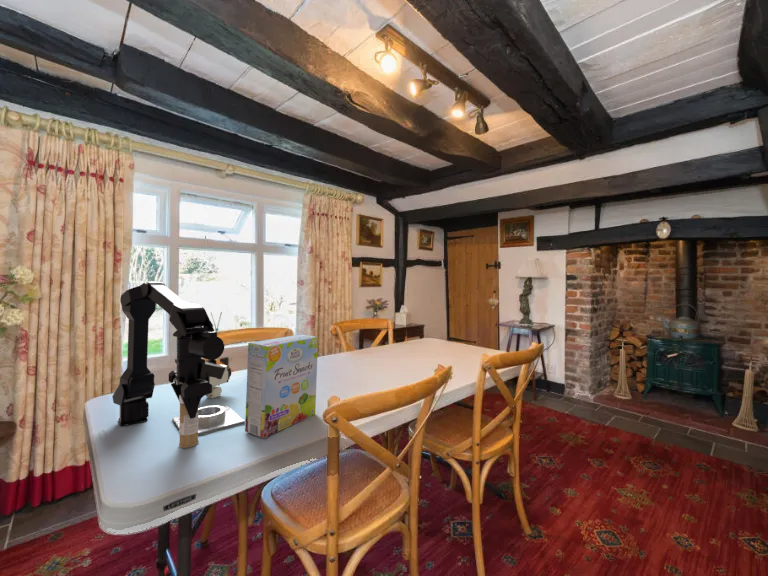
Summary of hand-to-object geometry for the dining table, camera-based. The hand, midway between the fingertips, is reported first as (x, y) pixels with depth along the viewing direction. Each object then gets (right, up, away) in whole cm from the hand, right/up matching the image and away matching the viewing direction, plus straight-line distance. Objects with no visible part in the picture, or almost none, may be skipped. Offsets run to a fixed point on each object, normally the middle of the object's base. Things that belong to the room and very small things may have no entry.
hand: (189, 414), depth 91 cm
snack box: (+20, -8, +15) cm, 27 cm away
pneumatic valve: (-11, -7, +36) cm, 38 cm away
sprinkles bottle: (0, -8, 0) cm, 8 cm away
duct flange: (-2, -8, +14) cm, 16 cm away
